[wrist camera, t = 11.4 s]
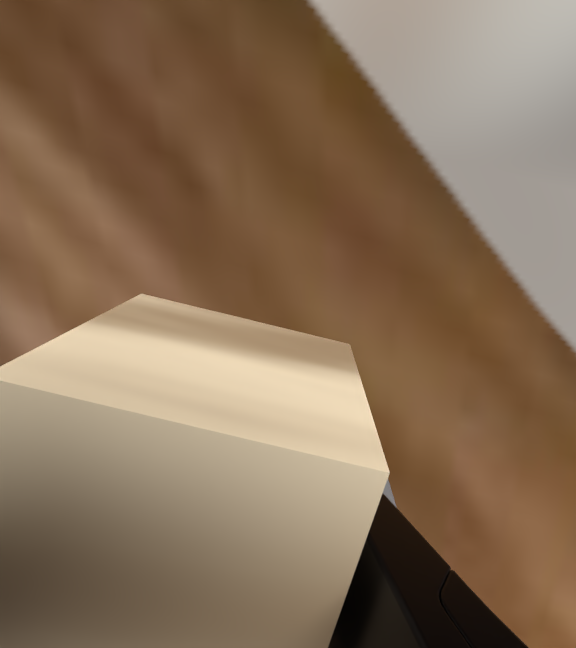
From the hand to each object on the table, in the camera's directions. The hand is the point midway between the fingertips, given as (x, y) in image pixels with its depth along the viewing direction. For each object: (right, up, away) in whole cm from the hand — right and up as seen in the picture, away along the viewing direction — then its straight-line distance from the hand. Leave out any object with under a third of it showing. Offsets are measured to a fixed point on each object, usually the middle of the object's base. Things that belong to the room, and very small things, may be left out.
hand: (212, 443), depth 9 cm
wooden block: (0, 0, +2) cm, 2 cm away
